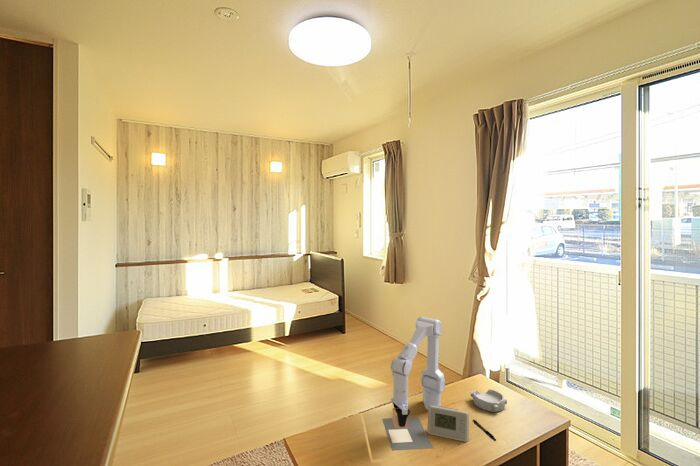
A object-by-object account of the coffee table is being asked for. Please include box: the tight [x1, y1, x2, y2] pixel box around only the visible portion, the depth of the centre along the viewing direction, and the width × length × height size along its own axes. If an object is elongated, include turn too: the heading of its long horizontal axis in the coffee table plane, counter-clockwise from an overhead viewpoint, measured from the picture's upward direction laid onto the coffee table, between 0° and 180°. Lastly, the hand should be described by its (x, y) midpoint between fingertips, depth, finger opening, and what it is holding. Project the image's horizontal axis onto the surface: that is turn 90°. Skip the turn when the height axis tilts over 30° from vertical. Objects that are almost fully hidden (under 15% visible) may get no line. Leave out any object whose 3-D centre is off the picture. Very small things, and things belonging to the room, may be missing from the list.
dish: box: [470, 388, 508, 413], centre depth 157 cm, size 14×14×5 cm
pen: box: [472, 419, 497, 441], centre depth 138 cm, size 14×2×1 cm, turn 16°
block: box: [392, 407, 409, 428], centre depth 132 cm, size 5×5×5 cm
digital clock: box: [426, 405, 470, 443], centre depth 134 cm, size 16×9×11 cm, turn 59°
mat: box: [382, 416, 434, 451], centre depth 135 cm, size 20×16×1 cm
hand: (400, 421), depth 132 cm, fingers closed on block, 5 cm apart
